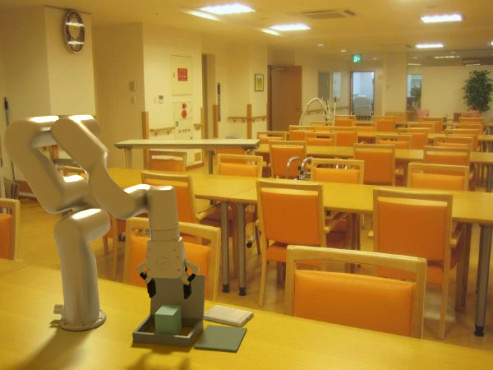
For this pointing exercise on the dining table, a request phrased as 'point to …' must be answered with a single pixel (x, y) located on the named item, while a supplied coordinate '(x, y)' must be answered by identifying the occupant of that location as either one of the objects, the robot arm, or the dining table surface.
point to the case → (167, 339)
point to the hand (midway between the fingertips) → (169, 296)
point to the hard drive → (228, 315)
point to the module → (168, 320)
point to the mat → (221, 338)
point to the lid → (180, 296)
